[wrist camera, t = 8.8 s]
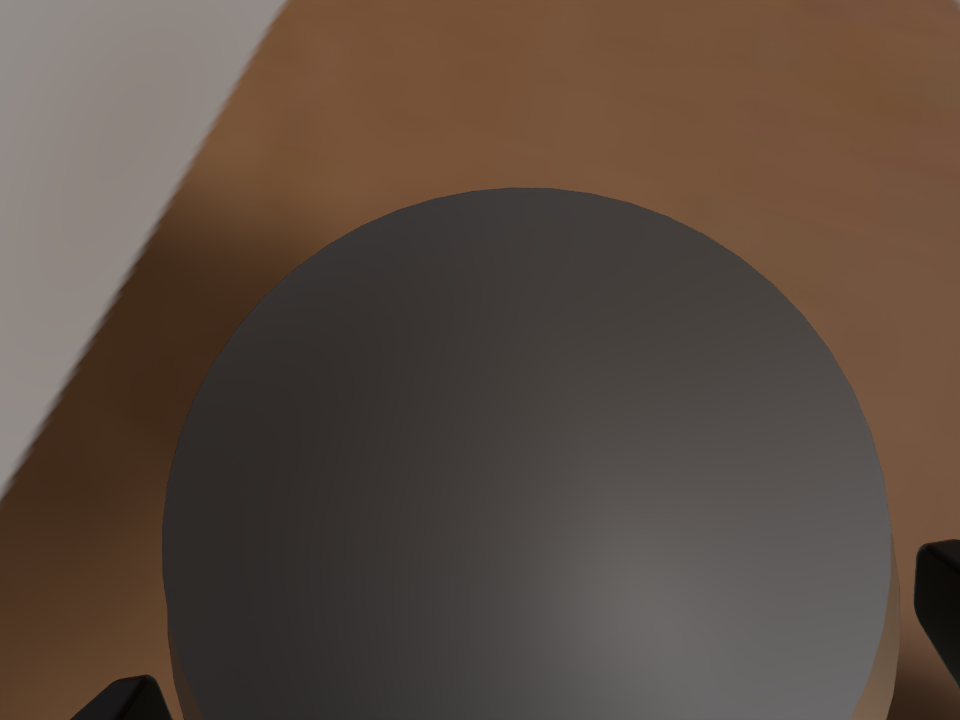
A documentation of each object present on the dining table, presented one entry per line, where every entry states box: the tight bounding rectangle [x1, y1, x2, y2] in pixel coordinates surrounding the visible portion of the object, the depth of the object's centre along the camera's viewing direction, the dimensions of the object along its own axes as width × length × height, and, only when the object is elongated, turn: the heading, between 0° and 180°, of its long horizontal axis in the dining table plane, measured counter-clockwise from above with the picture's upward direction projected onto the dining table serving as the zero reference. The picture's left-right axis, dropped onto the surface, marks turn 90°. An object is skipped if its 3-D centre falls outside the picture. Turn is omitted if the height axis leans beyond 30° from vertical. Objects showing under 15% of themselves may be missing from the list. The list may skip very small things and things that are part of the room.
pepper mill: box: [162, 188, 900, 720], centre depth 11 cm, size 5×5×15 cm
